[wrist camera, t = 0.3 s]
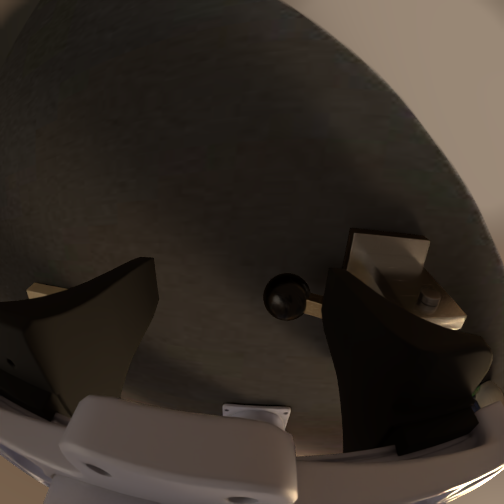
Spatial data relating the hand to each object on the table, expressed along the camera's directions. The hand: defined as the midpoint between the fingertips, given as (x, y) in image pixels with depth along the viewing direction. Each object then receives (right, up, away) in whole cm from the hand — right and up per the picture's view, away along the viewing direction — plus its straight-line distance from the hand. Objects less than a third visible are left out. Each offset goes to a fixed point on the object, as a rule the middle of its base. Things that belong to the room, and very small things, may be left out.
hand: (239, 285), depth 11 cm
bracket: (+11, -1, +11) cm, 15 cm away
